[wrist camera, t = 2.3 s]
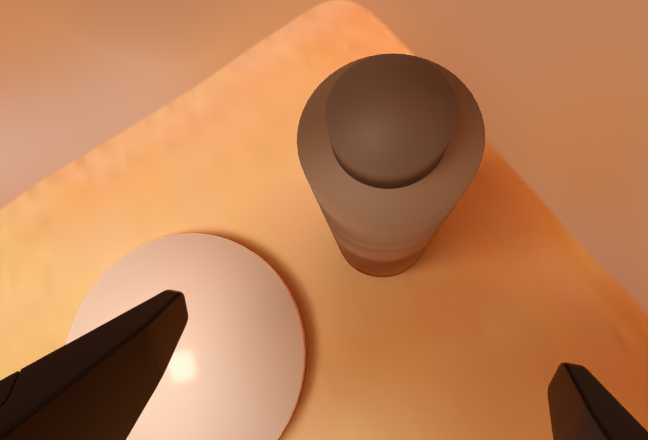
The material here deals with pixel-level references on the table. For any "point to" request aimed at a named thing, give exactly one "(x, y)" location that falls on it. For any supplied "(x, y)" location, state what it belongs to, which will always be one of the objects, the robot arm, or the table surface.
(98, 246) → the table surface
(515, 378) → the table surface
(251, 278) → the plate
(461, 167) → the pepper mill
